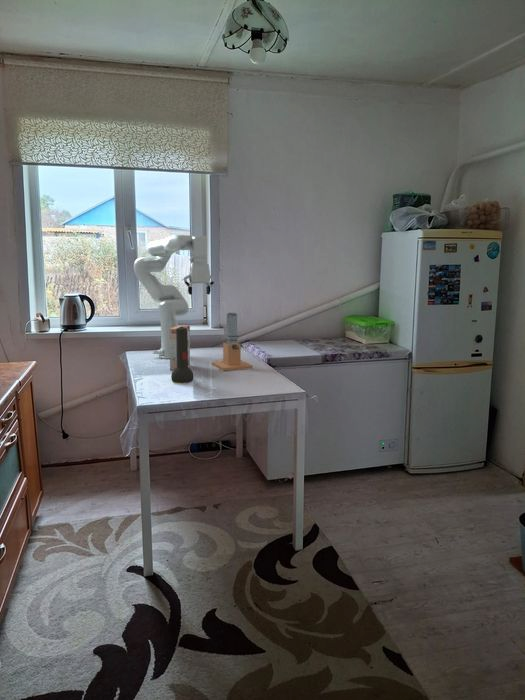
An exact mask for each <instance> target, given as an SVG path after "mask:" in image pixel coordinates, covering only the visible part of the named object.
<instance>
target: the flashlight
mask: <svg viewBox="0 0 525 700" xmlns="http://www.w3.org/2000/svg"><path fill="white" fill-rule="evenodd" d="M176 352H177V367H176V368H175V369H174V370H172V372H171V375H170V376H171V377H170V379H171V381H172V383H174V384H175V383H176V384H189V382H190V383H192V382H193V381H194V378H195V375H194V371H193V370H192V368H190V367H189V366H188V338H187V328H185V327H183V326H181V327H179V328H177V329H176Z"/></svg>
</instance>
